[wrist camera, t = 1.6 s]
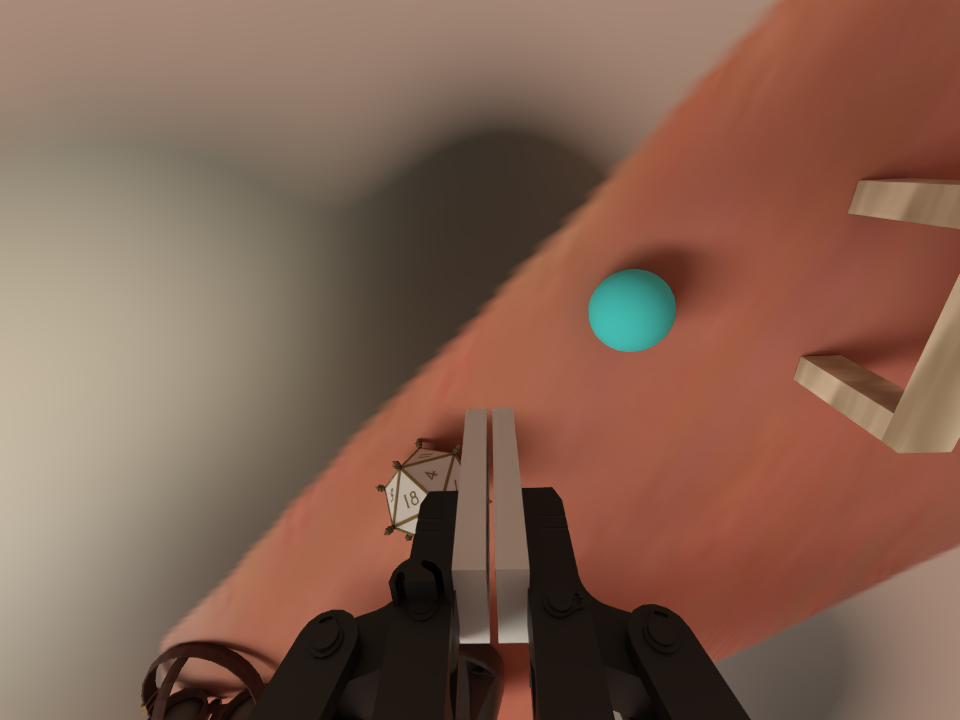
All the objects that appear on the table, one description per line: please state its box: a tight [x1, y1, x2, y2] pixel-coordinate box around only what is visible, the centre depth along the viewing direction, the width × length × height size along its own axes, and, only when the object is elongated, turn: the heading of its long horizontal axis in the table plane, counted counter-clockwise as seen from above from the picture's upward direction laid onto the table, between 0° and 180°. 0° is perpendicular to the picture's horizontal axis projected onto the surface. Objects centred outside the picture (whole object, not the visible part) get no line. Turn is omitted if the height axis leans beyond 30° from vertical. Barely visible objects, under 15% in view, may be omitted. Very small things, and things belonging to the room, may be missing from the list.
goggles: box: [141, 643, 268, 720], centre depth 49 cm, size 15×13×10 cm
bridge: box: [794, 178, 960, 453], centre depth 25 cm, size 3×14×9 cm, turn 3°
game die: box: [375, 439, 492, 541], centre depth 33 cm, size 9×8×10 cm
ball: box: [588, 269, 676, 352], centre depth 27 cm, size 6×6×6 cm
